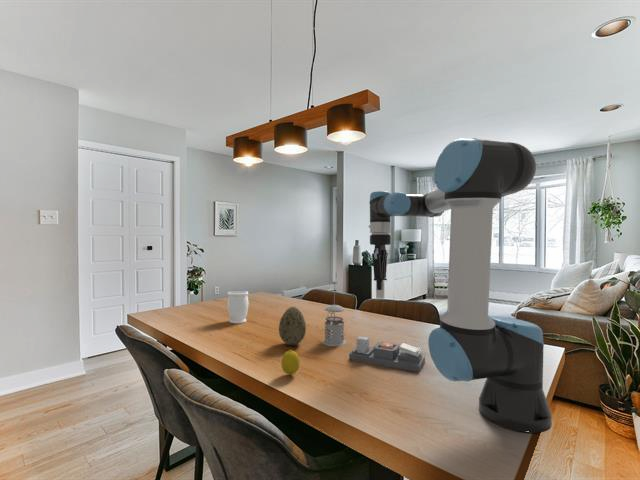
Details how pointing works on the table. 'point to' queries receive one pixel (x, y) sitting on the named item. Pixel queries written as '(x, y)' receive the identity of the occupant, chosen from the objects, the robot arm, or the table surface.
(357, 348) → the slide switch
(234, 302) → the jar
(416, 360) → the panel
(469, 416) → the table surface
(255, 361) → the table surface
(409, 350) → the rocker switch
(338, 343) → the french press
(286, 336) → the decorative egg
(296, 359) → the lemon
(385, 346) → the push button
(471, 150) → the robot arm
